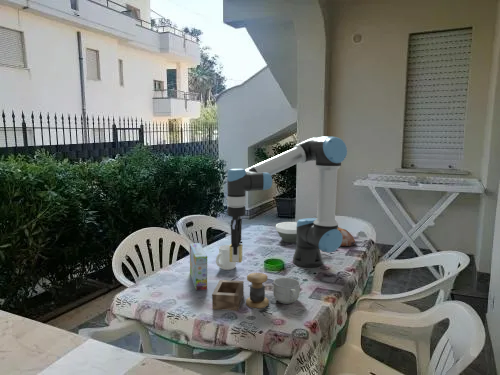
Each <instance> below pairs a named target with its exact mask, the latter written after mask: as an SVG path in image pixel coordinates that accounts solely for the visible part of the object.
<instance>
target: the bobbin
mask: <svg viewBox="0 0 500 375" xmlns="http://www.w3.org/2000/svg"><path fill="white" fill-rule="evenodd" d="M268 277H269V276H268V275H267V274H265V273H263V272H252V273H249V274H247V275H246V281H247V282H249V283H251V284H250V285H249V297H247V298H246V299H245V305H246V306H247V307H248V308H250V307H251V309H255V308H258V309H259V310H261V309H264V308H266V306H267V307H268V306H269V305H270V303H269V302H270V300H269V299H268V298H267V297H266V296H265V295H266V293H265V292H266V290H265V288H266V286H265V285H264V283H266V282H267V281H268ZM268 304H269V305H268Z"/></svg>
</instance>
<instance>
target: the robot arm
mask: <svg viewBox="0 0 500 375" xmlns="http://www.w3.org/2000/svg"><path fill="white" fill-rule="evenodd" d="M347 154H348V147H347V144H346V143H345V141H344V140H343V139H342V138H340V137H337V136H332V135H331V136H313V137H311V138H308V139H305V140H304V141H301V142H300V143H297V144H295V145H294V146H293V148H291V149H289V150H286V151H283V152H282V153H280V154H277V155H275V156H273V157H271V158H267V159H266V160H264V161H261V162H259V163H256V164H255V165H252V166H250V167H248V168H245V169H244V168H230V169H228V171H227V177H226V183H227V197H226V201H227V208H226V209H227V211H226V212H227V216H230V217H232V218H231V220H230V245H231V246H230V247H232V262H236V263H240V262H239V245H238V244H243V241H242V225H243V217H244V216H245V215H246V201H247V200H246V195H247V194H246V193H247V192H253V191H255V192H256V191H267V190H270V189H271V188H272V186H273V178H272V176H273V175H275V174H277V173H280V172H281V171H283V170H286V169H289V168H290V167H292V166H294V165H298V164H299V163H300V164H305V163H306V162H310V161H315V167H316V168H317V169H318V178H317V179H318V183H317V200H316V203H317V205H316V207H317V208H316V217H315V218H314V217H309V218H299V219H298V220H297V221H296V222H297V226H296V228H297V242H296V245H295V246H296V248H295V251H294V253H293V256H292V263H293V264H294V265H295V266H298V267H303V268H315V267H316V268H317V267H320V266H322V265H323V257H322V253H321V251H322V252H324V253H333V252H335V251H337V250H338V248H339V247H341V246H340V245H341V243H342V233H341V232H340V231H339V230H338V227H339V223H338V221H336V208H337V205H336V204H337V189H338V187H337V186H338V185H337V184H338V170H339V169H340V168H341V167H342V162H344V161H345V159H346V158H347Z"/></svg>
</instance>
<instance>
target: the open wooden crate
mask: <svg viewBox="0 0 500 375" xmlns="http://www.w3.org/2000/svg"><path fill="white" fill-rule="evenodd" d="M244 282H245V281H244V280H230V279H229V280H228V279H219V281H218V282H217V283H216V284H217V285H216V287H215V288H214V290H213V292H212V294H211V301H212V302H211V303H212V307H211V309H212V310H219V311H233V312H234V311H237V312H239V310H240V308H241V307H240V306H241V304H242V301H243V298H244V293H245V292H244V291H245V290H244V288H245V287H244Z"/></svg>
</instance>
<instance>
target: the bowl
mask: <svg viewBox="0 0 500 375" xmlns="http://www.w3.org/2000/svg"><path fill="white" fill-rule="evenodd" d="M296 226H297V221H283V222H279V223H276V225H275V230H276V231H277V232H276V233H278V235H279V237H280V238H281V240H282V241H283V242H284V243H291V244H292V243H297V228H296Z"/></svg>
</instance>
